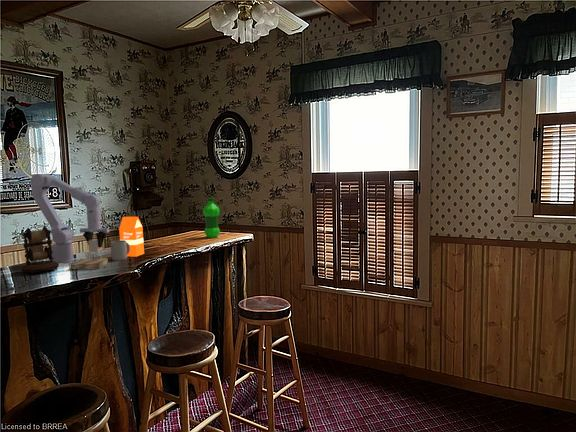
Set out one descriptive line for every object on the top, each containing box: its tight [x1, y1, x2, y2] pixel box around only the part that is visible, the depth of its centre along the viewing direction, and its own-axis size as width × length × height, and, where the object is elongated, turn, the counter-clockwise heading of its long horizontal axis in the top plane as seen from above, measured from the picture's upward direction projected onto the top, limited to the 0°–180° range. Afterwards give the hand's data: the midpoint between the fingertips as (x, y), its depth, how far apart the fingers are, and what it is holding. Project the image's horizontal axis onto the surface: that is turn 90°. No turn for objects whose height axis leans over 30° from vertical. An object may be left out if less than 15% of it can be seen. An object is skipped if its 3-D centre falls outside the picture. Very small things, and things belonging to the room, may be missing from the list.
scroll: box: [20, 225, 60, 274], centre depth 190 cm, size 15×15×20 cm
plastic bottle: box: [202, 197, 221, 239], centre depth 270 cm, size 10×10×25 cm
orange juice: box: [118, 216, 145, 257], centre depth 221 cm, size 8×9×20 cm
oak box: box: [70, 257, 109, 270], centre depth 198 cm, size 12×12×3 cm
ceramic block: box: [87, 238, 104, 253], centre depth 211 cm, size 4×4×6 cm
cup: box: [110, 239, 130, 262], centre depth 213 cm, size 7×10×9 cm
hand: (95, 247), depth 211 cm, fingers closed on ceramic block, 4 cm apart
